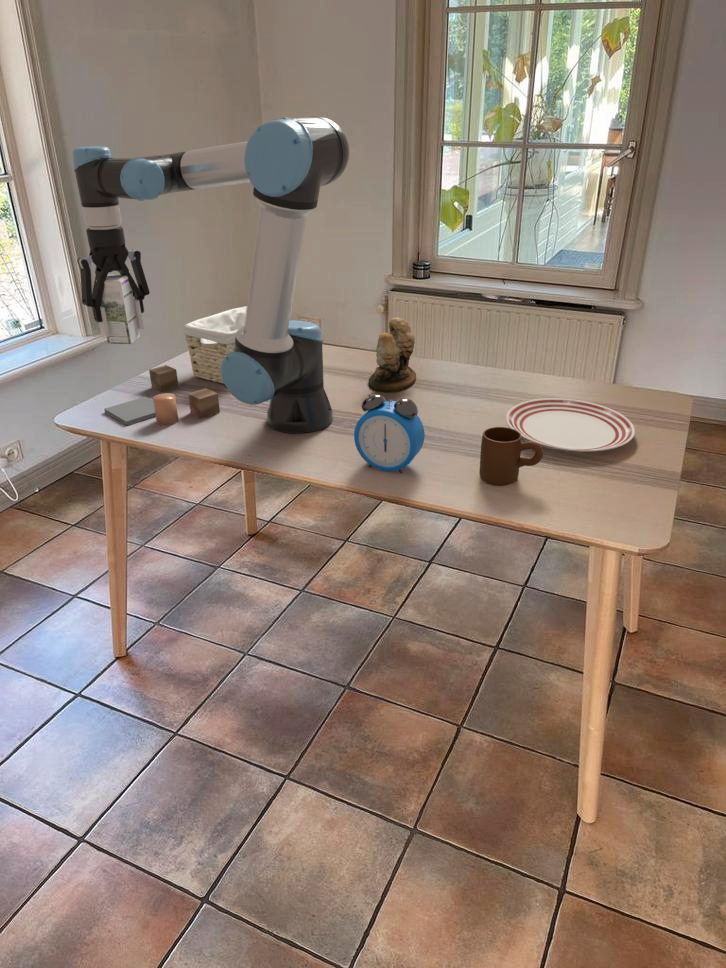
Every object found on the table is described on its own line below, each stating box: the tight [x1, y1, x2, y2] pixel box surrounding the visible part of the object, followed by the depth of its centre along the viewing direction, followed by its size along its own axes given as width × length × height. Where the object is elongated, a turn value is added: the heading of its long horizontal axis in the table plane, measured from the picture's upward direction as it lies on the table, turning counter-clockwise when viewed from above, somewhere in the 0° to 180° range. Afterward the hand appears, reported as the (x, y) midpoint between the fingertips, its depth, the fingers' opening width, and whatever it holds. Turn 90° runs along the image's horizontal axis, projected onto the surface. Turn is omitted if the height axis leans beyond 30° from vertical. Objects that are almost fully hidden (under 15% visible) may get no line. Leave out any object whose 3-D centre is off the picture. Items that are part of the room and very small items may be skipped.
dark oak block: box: [148, 364, 180, 393], centre depth 188 cm, size 5×5×5 cm
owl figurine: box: [368, 316, 417, 393], centre depth 187 cm, size 18×12×17 cm, turn 162°
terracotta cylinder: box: [152, 392, 180, 427], centre depth 168 cm, size 5×5×6 cm
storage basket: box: [183, 305, 247, 384], centre depth 197 cm, size 24×16×15 cm
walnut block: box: [187, 387, 221, 419], centre depth 173 cm, size 5×5×5 cm
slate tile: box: [104, 396, 156, 426], centre depth 174 cm, size 11×11×1 cm
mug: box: [479, 426, 544, 487], centre depth 139 cm, size 12×8×9 cm, turn 60°
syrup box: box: [96, 274, 141, 345], centre depth 163 cm, size 6×6×14 cm
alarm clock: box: [353, 393, 426, 474], centre depth 144 cm, size 13×6×15 cm, turn 67°
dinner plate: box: [505, 397, 636, 453], centre depth 160 cm, size 28×27×3 cm
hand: (122, 331), depth 165 cm, fingers closed on syrup box, 8 cm apart
